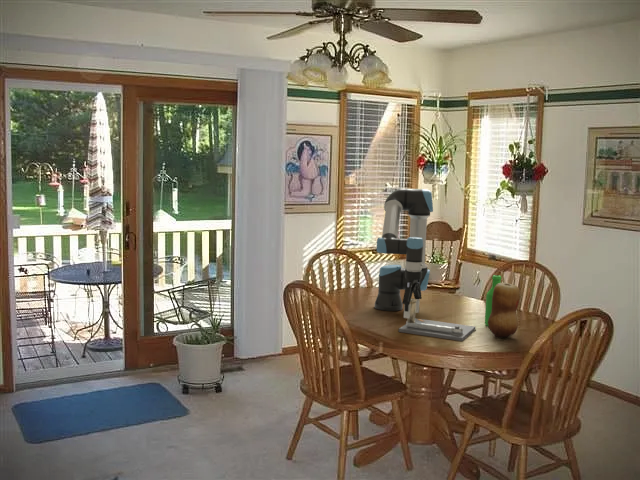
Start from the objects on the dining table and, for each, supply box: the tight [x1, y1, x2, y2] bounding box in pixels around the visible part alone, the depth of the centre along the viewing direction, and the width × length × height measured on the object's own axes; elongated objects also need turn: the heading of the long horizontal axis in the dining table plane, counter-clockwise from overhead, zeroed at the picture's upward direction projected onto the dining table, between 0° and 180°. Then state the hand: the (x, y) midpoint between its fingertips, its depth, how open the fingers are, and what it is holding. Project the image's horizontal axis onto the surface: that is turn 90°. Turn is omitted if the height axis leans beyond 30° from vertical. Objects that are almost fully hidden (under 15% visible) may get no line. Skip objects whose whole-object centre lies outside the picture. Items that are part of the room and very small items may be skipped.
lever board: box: [398, 317, 476, 342], centre depth 322 cm, size 30×24×2 cm
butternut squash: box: [487, 282, 521, 339], centre depth 313 cm, size 14×13×25 cm
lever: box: [405, 298, 463, 334], centre depth 315 cm, size 27×5×13 cm, turn 64°
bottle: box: [484, 274, 502, 327], centre depth 334 cm, size 9×9×25 cm
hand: (411, 315), depth 320 cm, fingers open, 13 cm apart
